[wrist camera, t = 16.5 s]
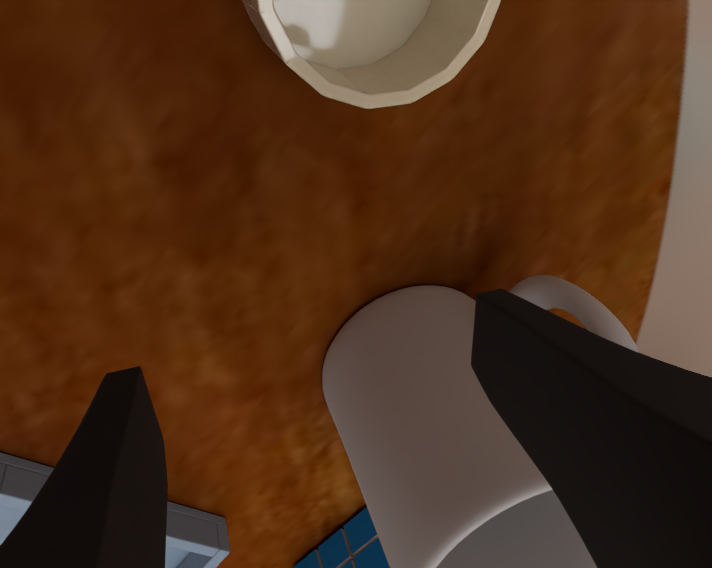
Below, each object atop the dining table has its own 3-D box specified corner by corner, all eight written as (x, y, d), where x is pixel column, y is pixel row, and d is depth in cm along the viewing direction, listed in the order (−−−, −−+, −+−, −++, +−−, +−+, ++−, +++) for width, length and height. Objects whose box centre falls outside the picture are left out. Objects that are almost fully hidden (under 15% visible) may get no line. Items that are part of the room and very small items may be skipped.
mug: (421, 444, 31) (532, 656, 22) (284, 402, 26) (354, 646, 18) (568, 264, 27) (773, 428, 18) (439, 182, 23) (625, 346, 14)
